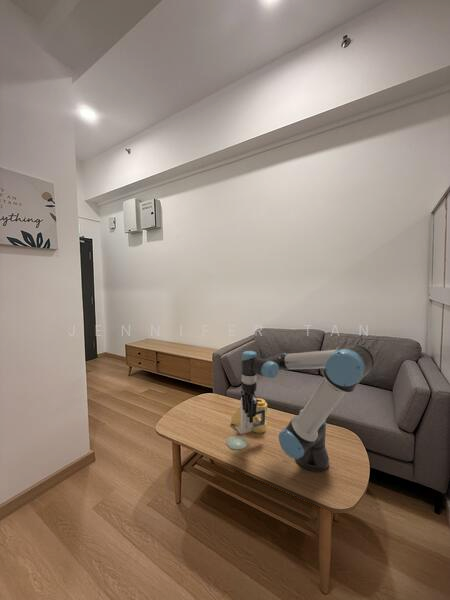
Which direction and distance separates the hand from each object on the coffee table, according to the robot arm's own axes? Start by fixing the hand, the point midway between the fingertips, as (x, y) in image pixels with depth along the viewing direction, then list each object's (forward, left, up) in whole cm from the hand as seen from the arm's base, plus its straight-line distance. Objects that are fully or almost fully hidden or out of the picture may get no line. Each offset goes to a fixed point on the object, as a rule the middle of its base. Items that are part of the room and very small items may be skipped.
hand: (248, 426), depth 126 cm
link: (0, -4, -1) cm, 4 cm away
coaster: (+4, +5, -10) cm, 12 cm away
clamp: (+15, -9, -10) cm, 20 cm away
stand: (+7, -4, -10) cm, 13 cm away
